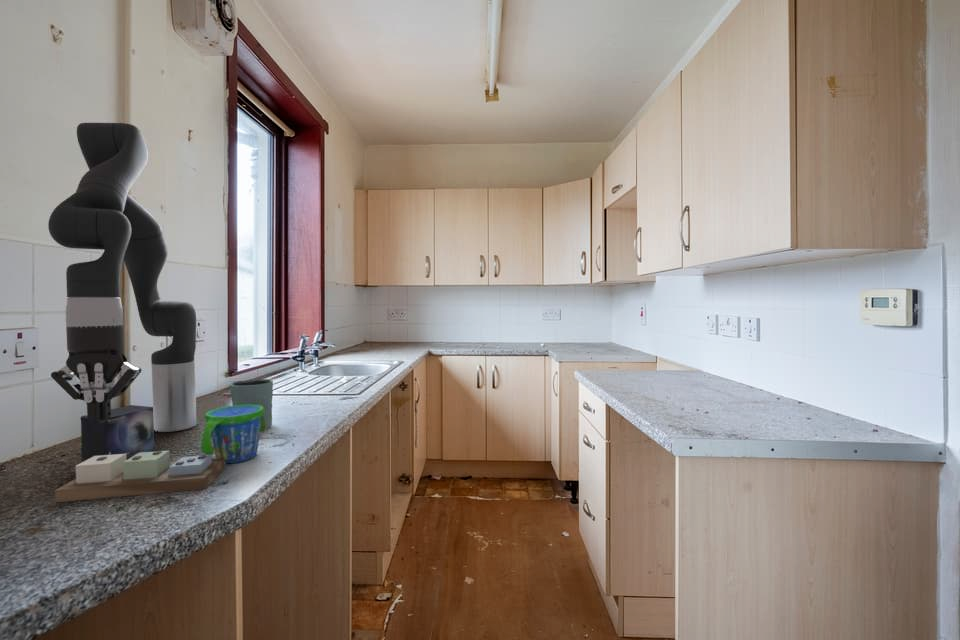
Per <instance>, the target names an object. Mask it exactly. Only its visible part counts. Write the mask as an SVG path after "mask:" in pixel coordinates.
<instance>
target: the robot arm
mask: <svg viewBox="0 0 960 640" xmlns="http://www.w3.org/2000/svg"><path fill="white" fill-rule="evenodd" d="M76 138H77V141H78V146H79V148H80V151H81V153H82V156H83V158H84V161H85V164H86V166H87V167H88V171H86V172H85V173H84V174H83V176H82V177H81V178H80V180H79V183H78V185H77V188H76V189H75V190H76V191H75V192H74V193H73V194H71V195H70V196H69V197H67V198H65V200H63V201H62V202H60V203H59V204H58V205H57V206H56V207H55V208H54V209H53V211H52V212H51V214H50V216H49V218H48V223H47V224H48V227H47V228H48V231H49V234H50V236H51V238H52V240H53V241H55V242H56V243H57V244H58V245H60V246H62V247H64V248H69V249H76V250H77V249H78V250H79V249H80V250H101V251H103V253H102V255H100V257H99V258H97V259H94V260H91V261H90V260H89V261H83V262H76V263H72V264H69V265H68V266H67V268H66V272H65V273H66V274H65V277H66V279H65V280H66V306H65V326H66V327H65V328H66V330H65V331H66V332H65V333H66V350H67V352H68V357H67V359H66V361H65V364H66V365H64V366H63V367H61V368H60V369H58V370H57V371H53V372H51V374H50V377H51V378H52V379H53V381H55V382H56V384H58V386H60V387H61V389H63V390H64V391H65V392H66V393H67V395H69V396H70V397H71V398H72V399H73V400H80V401H83V402H85V403H86V412H87V414H86V415H87V418H88V420H89V421H91V424H98V423H104V422H106V421H107V420H108V418H110V417H111V410H112V405H111V404H112V402H111V401H112V399H114V398H116V397H119V396H122V395H123V394H124V393H125V392H126V390H128V388H129V387H130V386H131V385H132V383H133V382H134V381H135V380H136V379H137V378H138V376H139V375H140V374H141V373H142V368H141V367H139V366H136V367H135V366H133V365H131V364H130V363H129V362H128V358H127V357H126V355H125V352H124V351H125V327H124V309H123V303H122V298H121V297H122V295H121V294H122V293H121V273H122V272H121V271H122V265H123V263H124V265H125V268H126V271H127V274H128V276H129V280H130V283H131V287H132V290H133V294H134V298H135V303H136V306H137V312H138V316H139V319H140V322H141V325H142V328H143V330H144V331H145V332H146V333H147V334H148V335H150V336H151V337H172V341H171V343H170V344H169V345H168V346H167V347H164V348H161V349H159V350H156V351H154V352H152V353H151V358H150V359H151V360H150V361H151V386H152V387H151V388H152V407H153V422H154V430H155V431H154V432H157V431H158V433H167V432H168V433H169V432H170V433H171V432H177V431H183V430H187V429H191V428H194V427H196V425H198V424H197V395H196V371H195V367H196V366H195V353H196V348H197V347H196V346H197V345H196V344H197V343H196V342H197V312H196V309H195V307H194V305H193V304H192V303H191V302H190V301H187V300H186V301H185V300H162V299H161V296H160V293H159V289H158V280H159V277H160V275H161V273H162V270H163V268H164V266H165V264H166V261H167V259H168V254H169V253H168V251H169V250H168V246H167V242H166V239H165V235H164V232H163V229H162V228H163V227H162V226H161V224H160V223H159V221H158V220H157V219H156V218H155V217H154V216H153V215H152V214H151V213H150V212H149V211H148V210H147V209H145V207H143V206H142V205H141V204H140V203H139V202H138V201H136V199H134V198H133V197H132V196H131V195H130V194H129V191H130V189H131V188H132V186H133V184H134V183H135V182H136V180H137V179H138V177H140V175H141V173H142V172H143V170H144V169H145V167H146V165H147V163H148V160H149V150H148V147H147V146H148V145H147V142H146V139H145V138H144V135H143V133H142V131H141V130H140V129H139V128H138V127H137V126H135V125H133V124H131V123H127V122H126V123H124V122H81V123H79V124H77V127H76ZM119 373H120V376H121V377H120V378H119V379H118V380H117V381H116V379H115V378H116V377H118V374H119ZM115 381H116V383H115Z"/></svg>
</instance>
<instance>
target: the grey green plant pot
mask: <svg viewBox="0 0 960 640" xmlns="http://www.w3.org/2000/svg"><path fill="white" fill-rule="evenodd" d="M273 390H274V381H273V379H271V378H270V379H269V378H259V379H258V378H257V379H248V380H247V379H245V380H240V381H235V382H234V381H233V382H231V383H230V384H229V391H230V392H229V393H230V397H231V402H232V405H231V406H234V405H260V406H262V407H263V409H264V417H265V422H266V428H268V427H270V426H271V425H273V413H272V412H273V394H274V393H273ZM271 427H272V426H271ZM271 427H270V428H271ZM268 429H269V428H268Z"/></svg>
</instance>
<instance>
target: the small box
mask: <svg viewBox="0 0 960 640" xmlns="http://www.w3.org/2000/svg"><path fill="white" fill-rule="evenodd" d="M80 429H81V430H80V433H81V436H80V437H81V438H80V439H81V442H80V443H81V444H80V445H81V463H82V462H84V461H86V460H88V459H90V458H92V457H93V456H101V455H114V454H126V456H127V460H128V459H129V458H131V457H133V456H134V455H136V454H138V453H142V452H155V433H154V432H155V431H154V417H153V406H146V405H145V406H143V405H137V404H136V405H134V404H130V405H126V406H121V407H117V408H111V417H110V418H108V420H107V421H106V422H104V423H98V424H91V421H89V420H88V418H87V414H85V415H81V416H80Z"/></svg>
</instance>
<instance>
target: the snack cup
mask: <svg viewBox="0 0 960 640" xmlns="http://www.w3.org/2000/svg"><path fill="white" fill-rule="evenodd" d="M204 418H205V422H206V423H205V425H204V429H203V431H202V437H201V442H200V449H201V452H202V453H203V455H212V454H214V459H217V458H225V464H235V463H237V464H238V463H241V462H245V461H249V459H252V458H253V457H255V456H257V453H258V448H259V441H260V433H264V432H265V431H266V430H267V429H266V422H265V417H264V409H263V407H262V406H260V405H234V406H233V405H227V406H224V407H223V406H222V407H218V408H215V409H212V410H210V411H207V412H206V413H205V415H204Z"/></svg>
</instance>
